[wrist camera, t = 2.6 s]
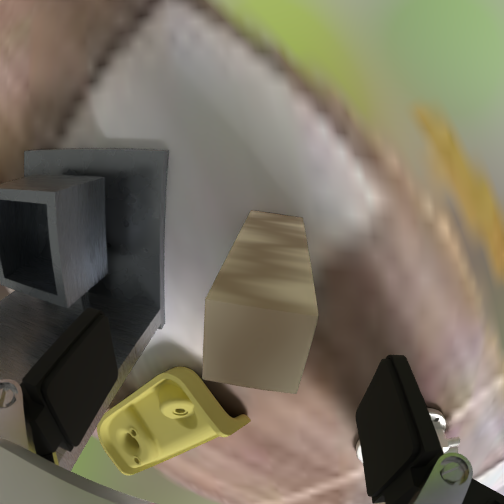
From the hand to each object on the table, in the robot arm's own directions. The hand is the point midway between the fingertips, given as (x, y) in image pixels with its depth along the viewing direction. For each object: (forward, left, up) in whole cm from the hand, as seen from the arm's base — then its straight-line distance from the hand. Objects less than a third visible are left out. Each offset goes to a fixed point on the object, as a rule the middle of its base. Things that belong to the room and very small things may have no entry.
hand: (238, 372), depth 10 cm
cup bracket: (+17, +2, -16) cm, 23 cm away
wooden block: (0, 0, -16) cm, 16 cm away
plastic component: (+9, +25, -16) cm, 31 cm away
